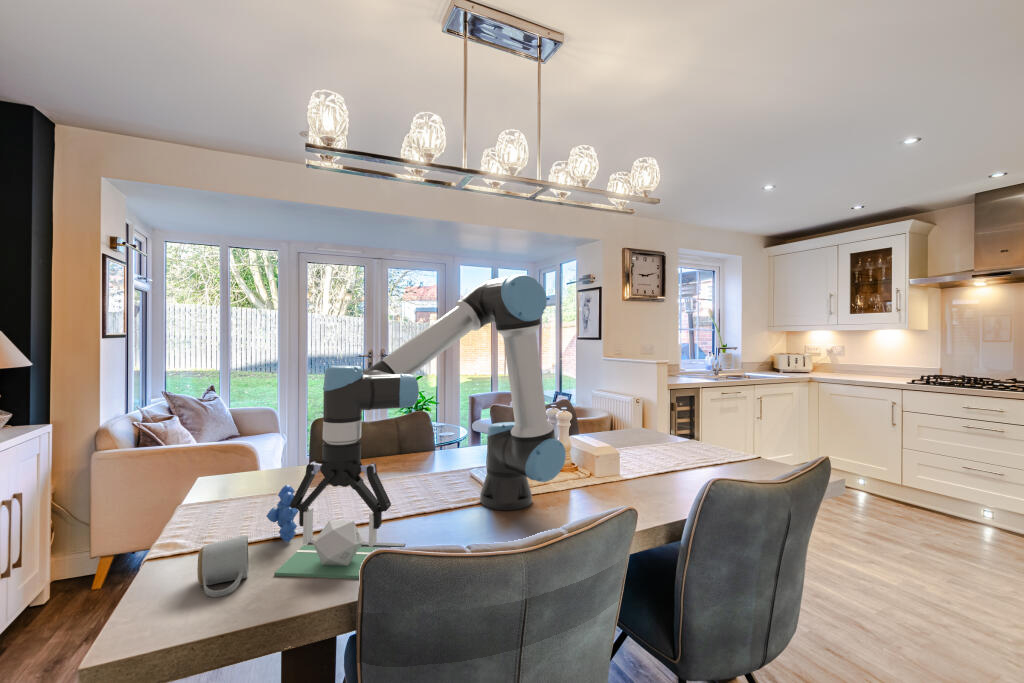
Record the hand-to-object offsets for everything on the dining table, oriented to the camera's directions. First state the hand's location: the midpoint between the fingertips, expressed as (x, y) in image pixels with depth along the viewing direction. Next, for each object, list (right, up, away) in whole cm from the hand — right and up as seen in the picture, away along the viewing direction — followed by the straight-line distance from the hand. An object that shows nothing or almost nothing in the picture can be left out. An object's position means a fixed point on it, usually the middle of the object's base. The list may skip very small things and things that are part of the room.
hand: (340, 542), depth 95 cm
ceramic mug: (-19, -5, -8) cm, 21 cm away
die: (-1, -4, 0) cm, 4 cm away
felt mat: (0, -5, +1) cm, 5 cm away
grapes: (-18, -4, +11) cm, 22 cm away
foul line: (0, -5, +10) cm, 11 cm away
